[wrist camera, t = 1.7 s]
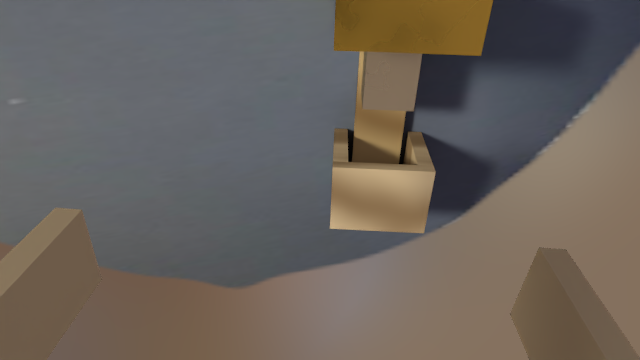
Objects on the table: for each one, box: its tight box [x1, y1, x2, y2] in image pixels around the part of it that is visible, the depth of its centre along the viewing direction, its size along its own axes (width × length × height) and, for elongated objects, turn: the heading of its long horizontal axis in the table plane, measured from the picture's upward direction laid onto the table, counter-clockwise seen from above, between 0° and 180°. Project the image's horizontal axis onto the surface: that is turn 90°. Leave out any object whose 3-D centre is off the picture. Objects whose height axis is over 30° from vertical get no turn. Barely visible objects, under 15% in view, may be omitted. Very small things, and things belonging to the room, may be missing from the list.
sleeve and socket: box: [330, 51, 436, 233], centre depth 25 cm, size 28×7×6 cm, turn 179°
